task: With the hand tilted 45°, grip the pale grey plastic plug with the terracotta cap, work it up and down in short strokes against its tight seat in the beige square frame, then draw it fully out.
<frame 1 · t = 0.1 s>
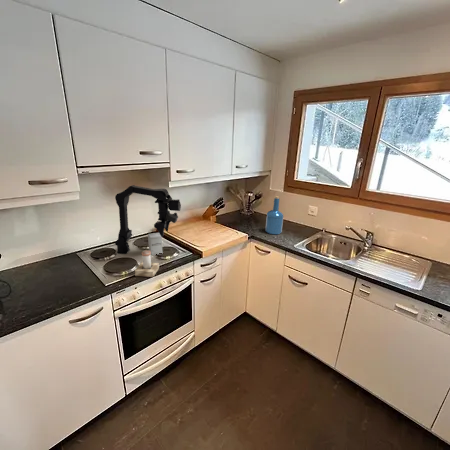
hand: (164, 233, 161), 15 cm above the worktop, tool pointing down, fingers open, 9 cm apart
supplement box: (155, 252, 169), on the worktop
wine bottle: (273, 232, 212), on the worktop
plug: (146, 262, 143), point 7 cm above the worktop, slide at 0.0 cm
beige square frame: (147, 272, 145), on the worktop
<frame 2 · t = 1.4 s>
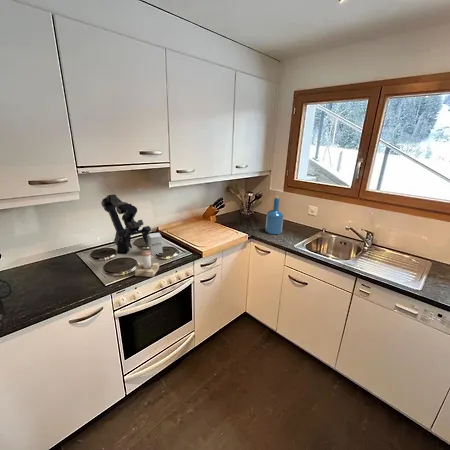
hand: (139, 246, 146), 13 cm above the worktop, tool tilted 45°, fingers open, 9 cm apart
nothing on the worktop moved.
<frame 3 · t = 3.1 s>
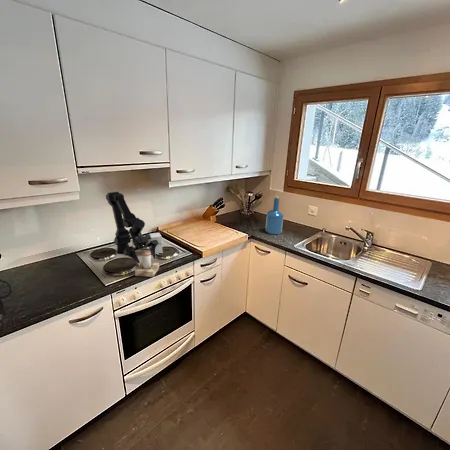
hand: (147, 260, 142), 7 cm above the worktop, tool tilted 45°, fingers open, 9 cm apart
nothing on the worktop moved.
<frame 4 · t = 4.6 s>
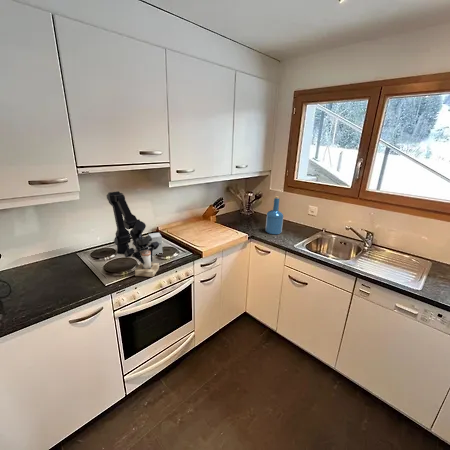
hand: (148, 262, 142), 7 cm above the worktop, tool tilted 45°, fingers closed on plug, 4 cm apart
plug: (146, 262, 143), point 6 cm above the worktop, slide at 0.0 cm, touching gripper, beige square frame
everything else where it was.
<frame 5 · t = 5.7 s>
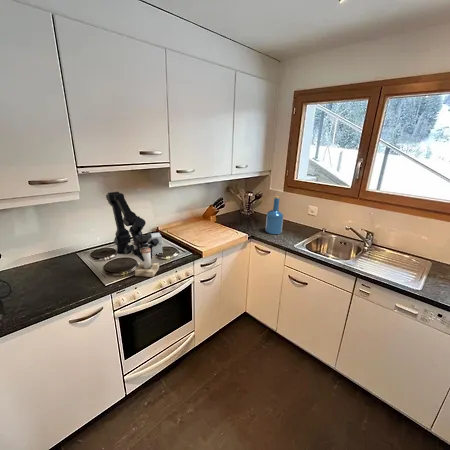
hand: (147, 259, 141), 8 cm above the worktop, tool tilted 45°, fingers closed on plug, 4 cm apart
plug: (146, 259, 142), point 8 cm above the worktop, slide at 1.8 cm, touching gripper
everything else where it was.
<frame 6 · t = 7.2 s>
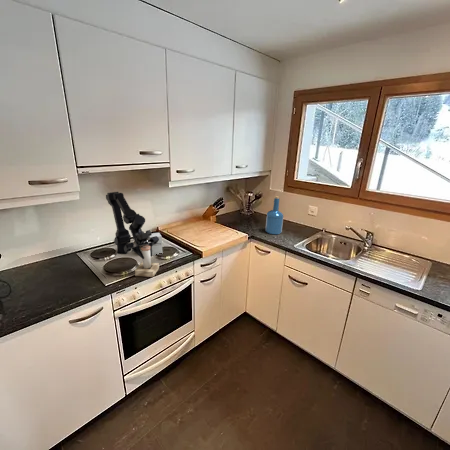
hand: (147, 257, 141), 10 cm above the worktop, tool tilted 45°, fingers closed on plug, 4 cm apart
plug: (146, 256, 142), point 10 cm above the worktop, slide at 3.2 cm, touching gripper
everything else where it was.
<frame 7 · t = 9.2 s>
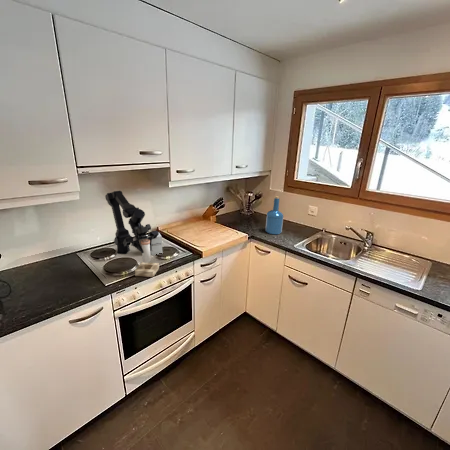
hand: (147, 251, 140), 13 cm above the worktop, tool tilted 45°, fingers closed on plug, 4 cm apart
plug: (146, 251, 140), point 13 cm above the worktop, slide at 6.7 cm, touching gripper
everything else where it was.
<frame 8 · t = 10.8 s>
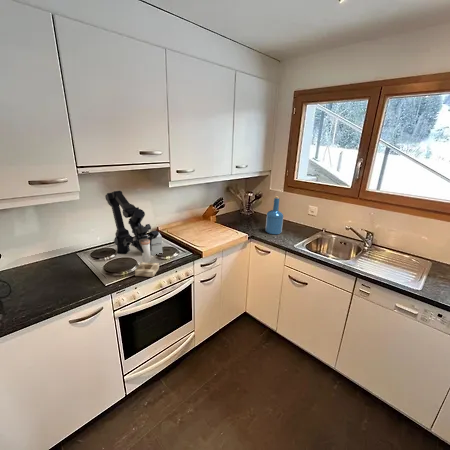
hand: (147, 251, 139), 13 cm above the worktop, tool tilted 45°, fingers closed on plug, 4 cm apart
plug: (146, 251, 140), point 13 cm above the worktop, slide at 6.7 cm, touching gripper
everything else where it was.
at the end: plug slide at 6.7 cm; the gripper is holding plug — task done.
